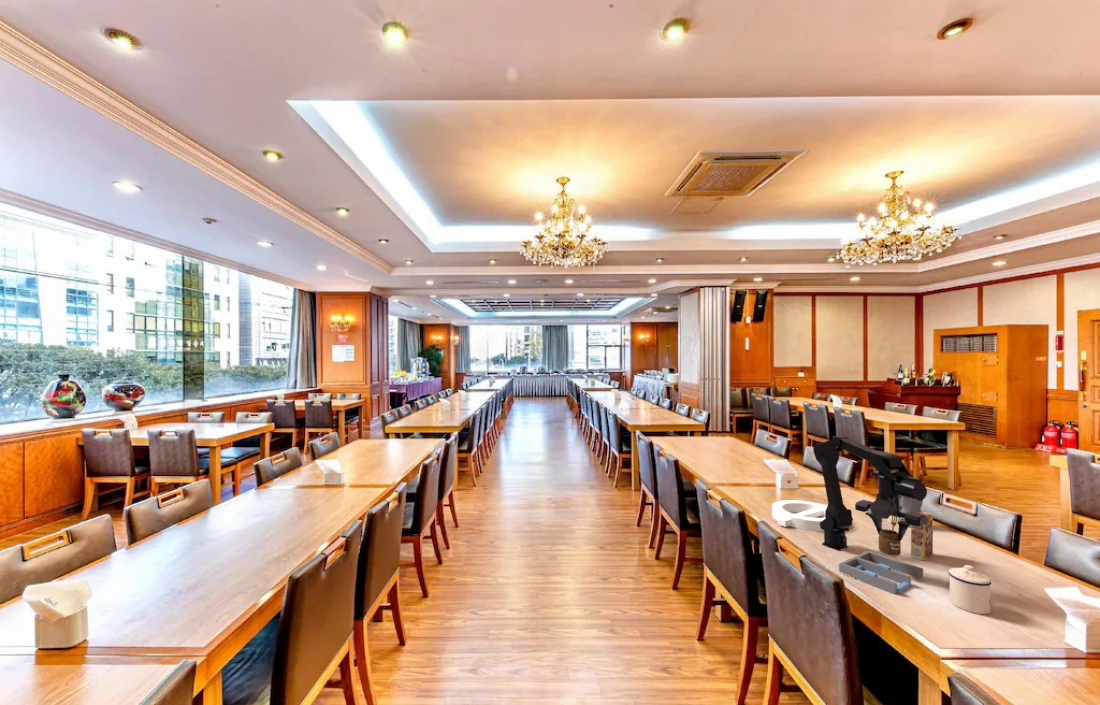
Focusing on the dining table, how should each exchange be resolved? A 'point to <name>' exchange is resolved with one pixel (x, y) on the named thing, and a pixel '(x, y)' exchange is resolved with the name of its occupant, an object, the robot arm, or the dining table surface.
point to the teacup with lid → (970, 590)
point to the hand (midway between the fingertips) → (889, 537)
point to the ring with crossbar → (799, 514)
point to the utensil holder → (889, 540)
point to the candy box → (922, 539)
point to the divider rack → (881, 571)
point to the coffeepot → (909, 505)
